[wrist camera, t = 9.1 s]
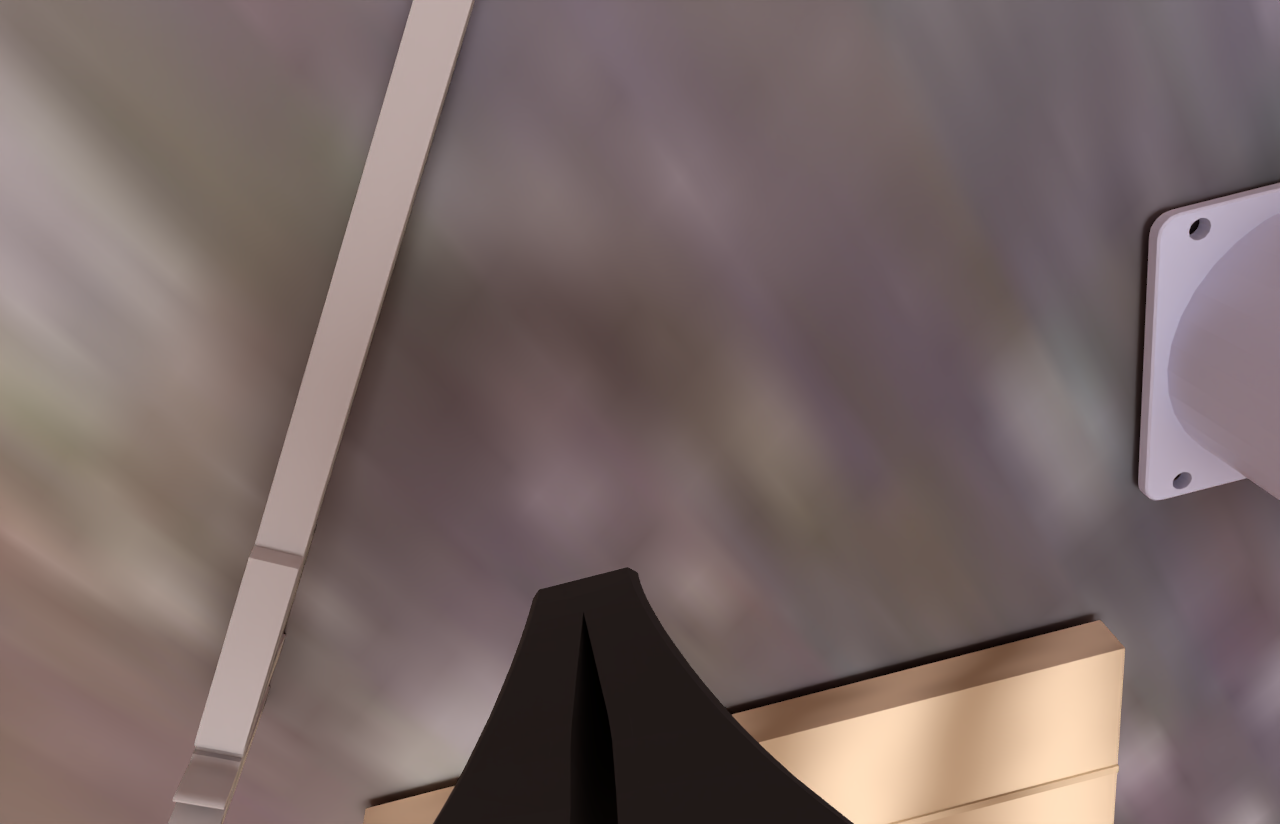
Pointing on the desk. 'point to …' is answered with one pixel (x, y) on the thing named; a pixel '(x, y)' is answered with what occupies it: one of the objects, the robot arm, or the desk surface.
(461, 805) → the robot arm
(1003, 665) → the loose plank
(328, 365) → the caliper
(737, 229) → the desk surface
